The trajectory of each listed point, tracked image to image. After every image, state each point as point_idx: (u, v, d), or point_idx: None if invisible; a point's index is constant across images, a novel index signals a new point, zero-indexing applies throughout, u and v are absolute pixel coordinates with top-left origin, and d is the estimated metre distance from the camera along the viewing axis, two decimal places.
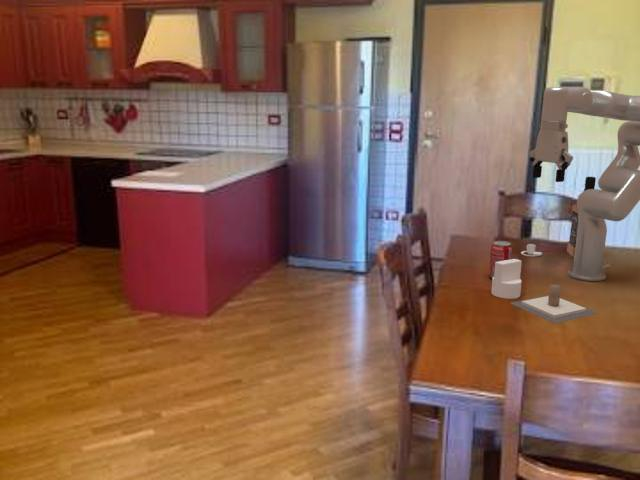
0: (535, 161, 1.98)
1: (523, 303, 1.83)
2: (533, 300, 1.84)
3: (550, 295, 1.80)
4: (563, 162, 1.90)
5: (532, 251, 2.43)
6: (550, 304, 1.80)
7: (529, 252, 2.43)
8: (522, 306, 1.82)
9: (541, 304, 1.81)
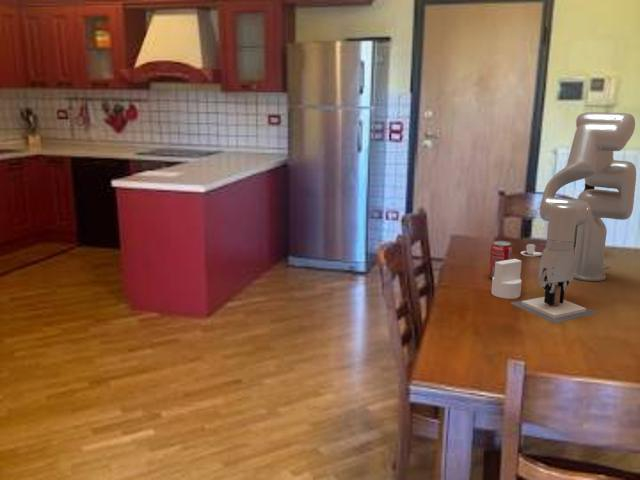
0: (553, 287, 1.77)
1: (523, 303, 1.83)
2: (533, 300, 1.84)
3: None
4: None
5: (532, 251, 2.43)
6: None
7: (529, 252, 2.43)
8: (522, 306, 1.82)
9: (541, 304, 1.81)
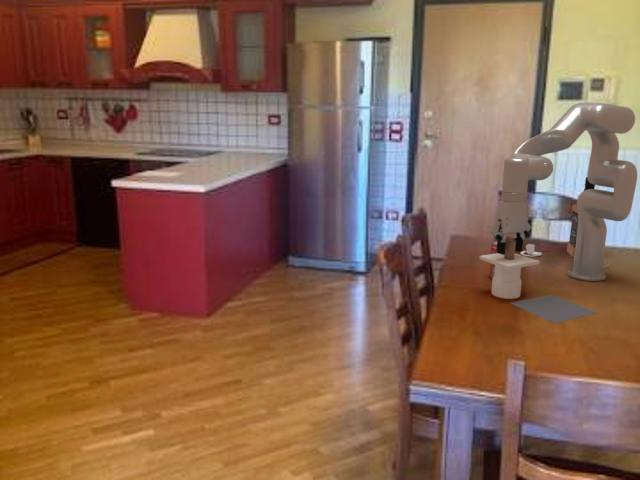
0: (504, 237, 1.86)
1: (481, 257, 1.93)
2: (490, 255, 1.94)
3: (505, 249, 1.89)
4: None
5: (531, 251, 2.42)
6: (506, 258, 1.89)
7: (528, 252, 2.43)
8: (522, 306, 1.82)
9: (497, 258, 1.91)
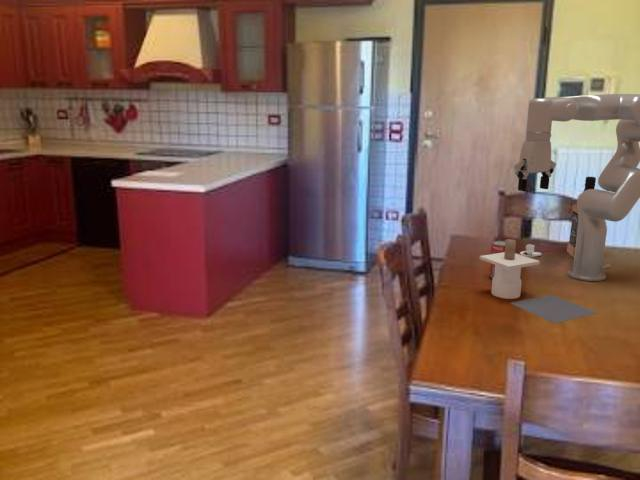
0: (526, 174, 1.92)
1: (481, 258, 1.93)
2: (490, 255, 1.94)
3: (506, 249, 1.89)
4: None
5: (531, 251, 2.42)
6: (506, 258, 1.89)
7: (528, 252, 2.43)
8: (522, 306, 1.82)
9: (498, 258, 1.91)
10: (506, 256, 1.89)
